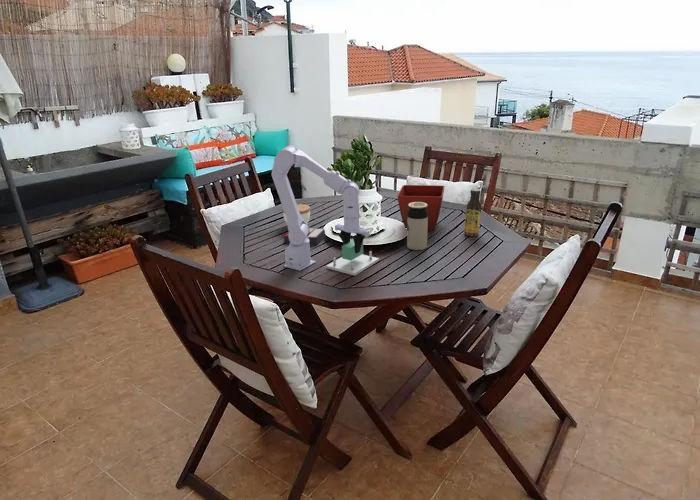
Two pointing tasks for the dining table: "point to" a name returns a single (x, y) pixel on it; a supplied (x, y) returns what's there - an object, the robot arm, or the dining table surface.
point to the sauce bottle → (473, 214)
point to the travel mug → (417, 226)
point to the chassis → (353, 264)
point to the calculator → (311, 236)
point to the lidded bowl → (301, 213)
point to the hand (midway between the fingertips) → (352, 251)
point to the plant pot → (421, 194)
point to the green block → (350, 251)
